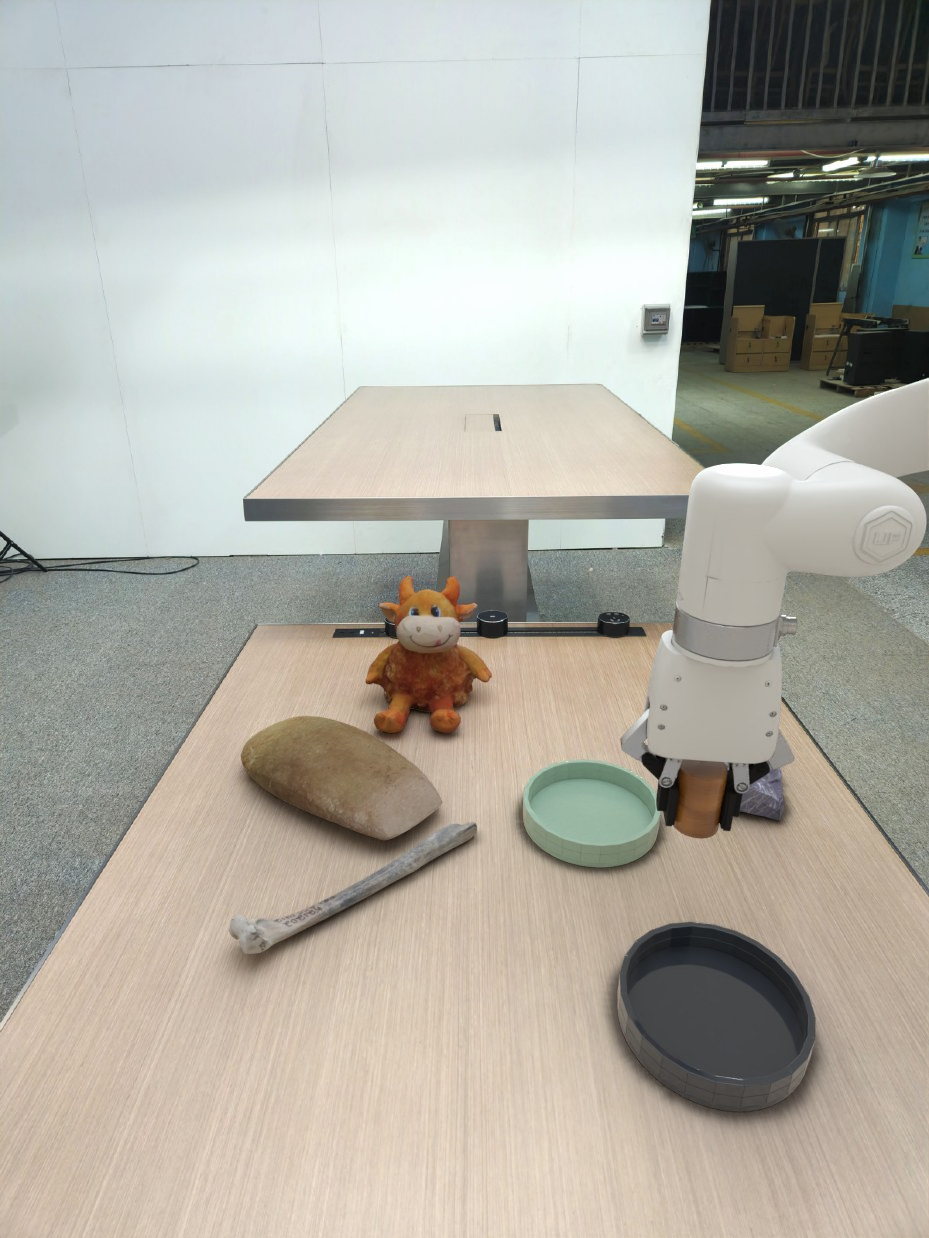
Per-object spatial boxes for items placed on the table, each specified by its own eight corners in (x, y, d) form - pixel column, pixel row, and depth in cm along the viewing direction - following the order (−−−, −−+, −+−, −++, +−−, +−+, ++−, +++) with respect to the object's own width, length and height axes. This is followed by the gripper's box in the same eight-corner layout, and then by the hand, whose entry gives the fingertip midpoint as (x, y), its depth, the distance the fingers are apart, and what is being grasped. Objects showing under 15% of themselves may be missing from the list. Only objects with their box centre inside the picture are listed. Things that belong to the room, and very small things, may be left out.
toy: (333, 723, 105) (363, 555, 111) (379, 742, 125) (401, 600, 132) (467, 738, 101) (489, 563, 107) (491, 755, 121) (508, 608, 128)
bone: (459, 823, 91) (458, 789, 89) (482, 842, 88) (482, 808, 86) (230, 948, 74) (223, 910, 72) (249, 977, 71) (242, 938, 69)
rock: (785, 828, 90) (792, 793, 87) (692, 810, 93) (697, 776, 91) (775, 721, 111) (781, 691, 109) (700, 710, 114) (704, 680, 112)
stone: (372, 830, 81) (376, 873, 83) (460, 764, 91) (462, 804, 94) (211, 736, 98) (218, 773, 101) (300, 690, 109) (305, 725, 111)
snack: (725, 820, 66) (735, 763, 63) (708, 845, 63) (717, 787, 60) (681, 802, 68) (689, 747, 66) (663, 826, 65) (670, 769, 63)
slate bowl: (831, 1006, 68) (838, 981, 66) (772, 1156, 56) (779, 1129, 55) (664, 919, 77) (667, 896, 76) (583, 1033, 65) (586, 1007, 64)
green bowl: (680, 812, 92) (683, 791, 91) (617, 889, 81) (619, 866, 79) (567, 764, 102) (568, 745, 100) (496, 827, 90) (496, 806, 89)
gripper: (822, 614, 60) (784, 798, 68) (611, 604, 62) (596, 784, 70) (854, 656, 53) (807, 856, 61) (615, 644, 55) (599, 839, 63)
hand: (695, 816), depth 65 cm, fingers closed on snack, 4 cm apart
